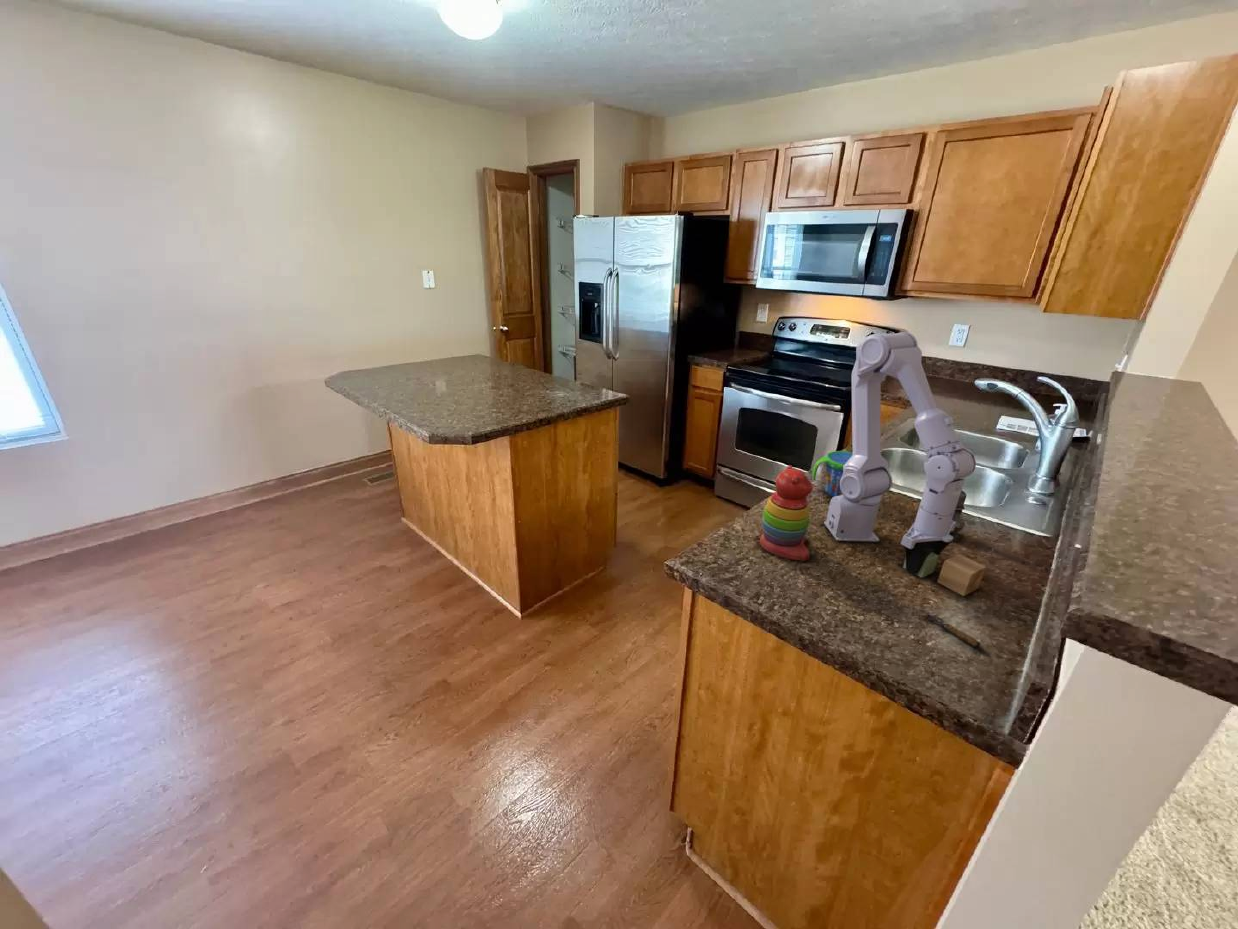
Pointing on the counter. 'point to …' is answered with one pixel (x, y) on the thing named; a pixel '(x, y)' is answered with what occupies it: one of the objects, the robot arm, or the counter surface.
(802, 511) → the stacking bear
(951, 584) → the base block
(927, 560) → the top cube
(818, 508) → the counter surface
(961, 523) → the grey fire hydrant
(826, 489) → the snack cup
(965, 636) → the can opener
